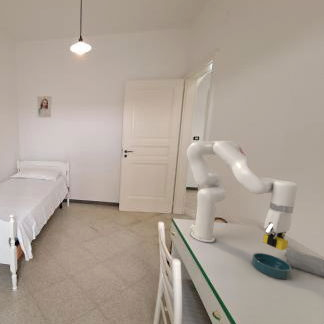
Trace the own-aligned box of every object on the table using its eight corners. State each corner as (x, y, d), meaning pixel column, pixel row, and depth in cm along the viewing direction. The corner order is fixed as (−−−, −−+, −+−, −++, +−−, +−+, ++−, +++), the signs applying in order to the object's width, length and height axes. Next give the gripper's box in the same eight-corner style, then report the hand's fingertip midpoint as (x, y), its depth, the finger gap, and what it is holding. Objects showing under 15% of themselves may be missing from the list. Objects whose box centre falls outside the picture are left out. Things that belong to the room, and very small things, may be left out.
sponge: (262, 242, 99) (264, 234, 98) (268, 241, 100) (269, 233, 99) (281, 250, 92) (282, 242, 91) (286, 249, 93) (288, 240, 92)
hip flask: (288, 266, 100) (355, 288, 87) (289, 259, 100) (358, 280, 86) (285, 253, 112) (344, 270, 98) (287, 246, 111) (346, 263, 98)
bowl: (244, 263, 102) (246, 255, 101) (263, 259, 106) (264, 251, 105) (277, 282, 89) (279, 273, 89) (296, 276, 93) (298, 267, 93)
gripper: (282, 203, 99) (276, 238, 102) (259, 206, 94) (253, 243, 97) (303, 209, 92) (296, 246, 95) (279, 212, 87) (272, 252, 90)
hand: (274, 244), depth 96 cm, fingers closed on sponge, 4 cm apart
